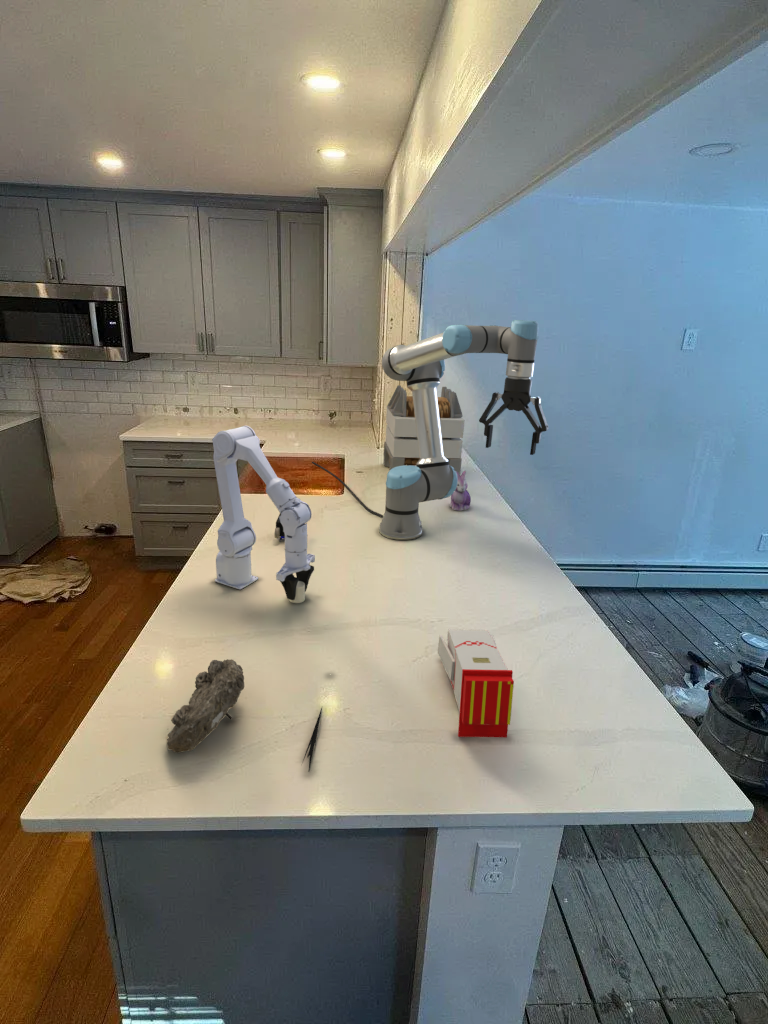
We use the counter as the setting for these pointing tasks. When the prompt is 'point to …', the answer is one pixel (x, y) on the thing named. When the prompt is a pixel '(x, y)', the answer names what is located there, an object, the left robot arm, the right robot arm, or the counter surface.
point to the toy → (478, 682)
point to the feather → (313, 740)
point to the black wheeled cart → (279, 530)
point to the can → (299, 593)
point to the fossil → (206, 705)
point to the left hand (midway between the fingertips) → (296, 594)
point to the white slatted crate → (404, 434)
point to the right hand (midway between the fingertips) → (509, 450)
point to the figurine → (460, 494)
